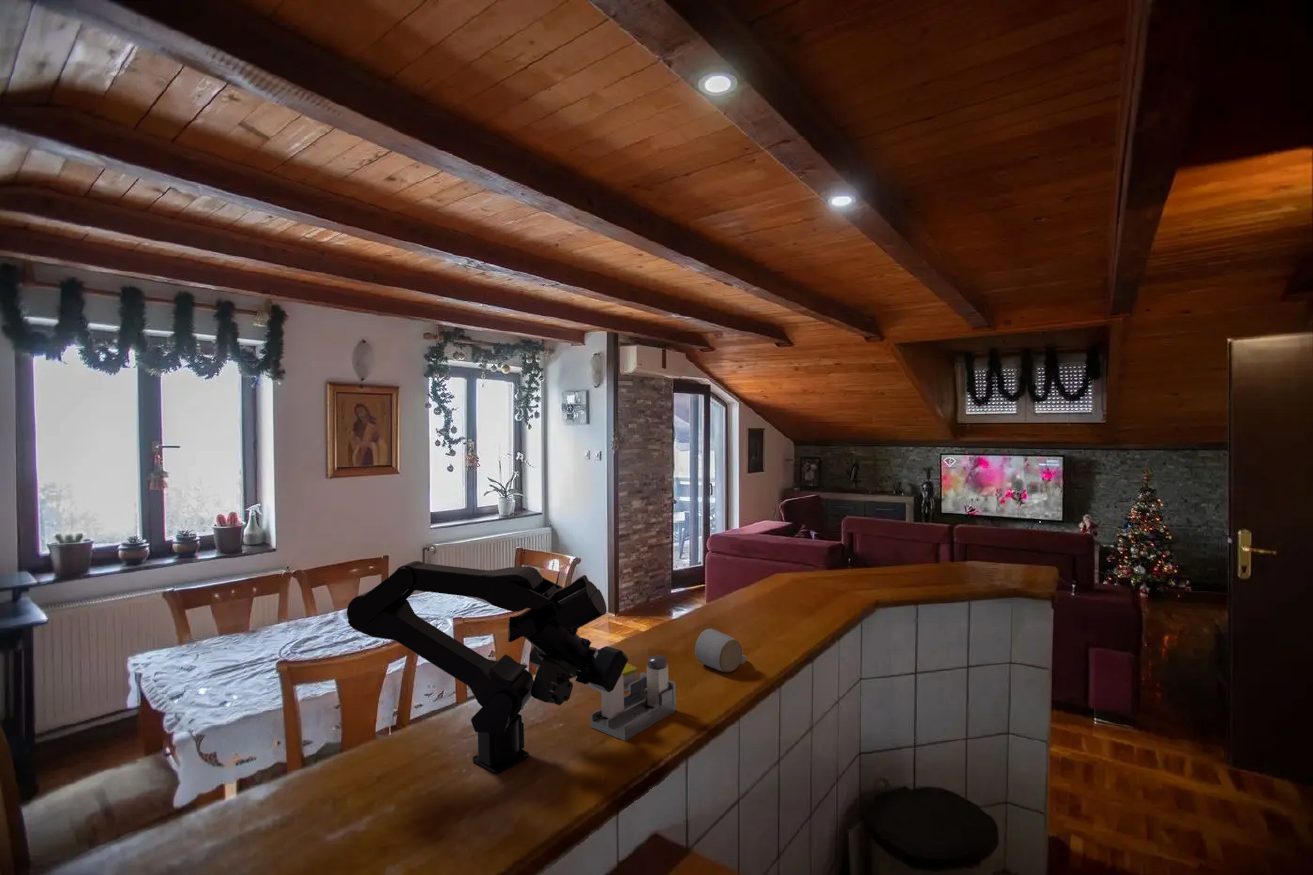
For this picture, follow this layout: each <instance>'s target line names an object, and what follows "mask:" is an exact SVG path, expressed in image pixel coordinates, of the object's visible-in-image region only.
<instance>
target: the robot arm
mask: <svg viewBox="0 0 1313 875" xmlns="http://www.w3.org/2000/svg"><path fill="white" fill-rule="evenodd" d="M415 591H419V592H427V593H433V594H434V593H435V594H441V595H443V594H445V595H451V596H460V597H468V598H477V599H480V600H484V601H485V602H487V603H489V604H490V605H491V606H494V607H497V608H499V609H503V610H506V611H510V612H512V613H513V612H521V611H523V610H525V609H527V610H525V611H524V612H521V613H520V614H519V615H516V616H510V617H509V619H508V627H507V629H508V630H507V633H508V634H507V642H509V643H512V642H514V641H516V640H518V639H520V638H522V637H523V638H524V639H525V640H526V641H528V642H529V643H530V644H531V645H532V646H533V648H532V649H531V651H530V652H529V654H528V655H529V663H530V664H531V665H533V666H534V667H535V668H537V669H536V673H535V676H533V675H532V674H531V672H529V670H528V669H526V668H527V666H528V665H526V664H522V663H520V662H517V661H516V660H515V659H514V658H513V657H511V656H510V655H508V654H506V653H505V654H503V655H502V657H500V658H499V659H498V660H494V659H489V658H486V657H485V656H483V655H481V654H480V653H479V652H476V651H475V650H473V649H472V648H470V647H469V646H467V645H465V644H464V643H462V642H461V641H459V640H457V639H456V638H454V637H453V636H451V635H449V634H447V633H446V632H444V631H442V630H441V629H439V628H437V627H436V626H434V625H433V624H431V623H429V621H426V620H425V619H423V618H422V617H420V616H418V615H417V614H416V613H415V611H414V609H413V607H412V605H411V604H410V602H409V601H408V598H410V597H411V596H412V595H413V594H414V593H415ZM607 612H608V611H607V603H606V601H605V598H604V595H603V594H602V592H601V590H600V589H599V588H598V587H597V586H596V585H595V584H594V583H593V582H592V581H590V580H589V578H588V576H587V575H586V574H583V575H582V576H579V577H577V578H576V579H575V581H573V582H571V583H569V584H568V585H567V584H566V585H565V586H564V587H563V586H562V585H559V584H558V583H555V582H554V581H552V580H549V579H547V578H546V577H543V576H542V574H541V573H540V572H539V570H538V569H537V568H535V567H533V566H527V565H525V566H510V567H504V568H497V569H490V570H489V569H488V570H487V569H479V568H469V567H462V566H452V565H451V566H450V565H444V564H443V565H441V564H434V563H428V562H427V563H425V562H422V561H420V560H413V561H411V562H408V563H406V564H403V565H401V566H400V567H397V569H396V570H395V571H394V572H393V573H392V574H390V575H389V577H387V578H386V579H384V580H383V581H382V582H380V583H379V584H378V585H376V586H375V587H374V588H372V589H371V590H369V591H367V592H365V593H362V594H360V595H357V596H355V597H354V598H353V599H351V600H350V601H349V603H348V605H347V608H346V616H347V623H348V625H349V626H350V627H351V629H353V630H354V631H356V632H359V633H361V634H364V635H367V636H369V637H370V638H371V637H372V638H375V639H381V640H382V639H383V640H391V641H394V642H397V643H398V644H399V645H402V646H403V647H405V648H406V649H408V650H410V651H411V652H412V653H415V654H416V655H418V656H419V657H420V658H422V659H424V660H425V661H427V662H429V663H430V664H432V665H433V666H435V667H437V668H439V669H440V670H441V671H443V672H445V673H446V674H448V675H450V676H451V677H453V678H454V679H456V680H458V681H459V682H461V683H463V684H464V685H466V686H467V687H468V688H469V689H470V691H471V693H472V694H473V696H474V698H475V699H476V703H478V705H479V706H480V707H481V708H479V710H478V711H477V712H476V713H474V715H473V716H472V717H471V719H470V721H471V725H472V727H473V730H474V732H475V733H477V752H478V753H477V754H476V755H474V756H472V762H473V763H476V764H477V765H479V766H482V767H483V768H485V769H486V770H488V771H489V772H490V771H491V772H492V773H494V774H498V773H501V772H503V771H504V770H506V769H508V768H510V767H512V766H513V765H516V764H518V763H520V762H521V761H523V760H525V759H527V758H528V757H529V756H530V752H529V751H527V750H524V749H525V723H524V722H523V716H522V714H519V713H520V712H521V711H522V710H523V709H524V707H525V705H526V704H527V703H528V702H529V700H530V699H531V698H534V699H536V700H538V701H541V702H544V703H546V704H554V705H557V706H559V707H560V706H561V705H562V704H564V702H568V701H569V700H570V699H571V695H572V692H573V691H572V690H573V688H574V683H573V682H572V681H570V679H574V678H573V677H576V676H577V678H576V679H575V682H577V683H579V684H583V685H586V684H589V683H590V684H591V685H592V686H594V687H596V688H598V689H601V690H603V691H606V692H610V691H612V690H613V689H614V687H615V685H616V683H617V681H618V679H619V677H620V675H621V673H622V671H623V669H624V667H625V665H626V663H628V661H629V658H628V655H627V654H626V653H625V652H624V651H623V650H621V649H617V648H614V647H611V646H608V645H606V646H603V647H601V648H600V649H599V648H597V647H593V646H591V645H592V641H590V639H588V638H583V637H580V636H579V635H578V634H577V632H578V631H579V629H580V628H582V627H583V626H585V625H587V624H589V623H591V622H593V621H595V620H597V619H599V618H601V617H602V616H604V615H606V614H607Z"/></svg>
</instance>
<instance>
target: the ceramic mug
mask: <svg viewBox="0 0 1313 875" xmlns="http://www.w3.org/2000/svg"><path fill="white" fill-rule="evenodd" d="M694 652H695V657H696V659H697V661H698V662H699V663H701V664H702V665H705V666H708V667H709V668H712V669H715V670H718V671H719V672H723V673H731V672H733V671H735V670H737V669H738V667H739V666H740V664H745V663H746V662H747V661H746V660H747V655H744V654H743V647H742V645H741V643H740V642H739V641H738V640H736V639H735V638H733V637H732V636H729V635H728V634H726V633H722V632H721V631H718V630H716V629H714V628H706V629H705V630H703V631H702V632H701V633H700V634H699V635H698V638H697V639H696V642H695V647H694Z"/></svg>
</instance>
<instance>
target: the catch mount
mask: <svg viewBox="0 0 1313 875" xmlns="http://www.w3.org/2000/svg"><path fill="white" fill-rule="evenodd" d="M667 662H668V661H667V657H666V656H664V655H662V654H654V655H650V656H649V657H648V658H647V665H646V672H644V671H643V672H640V673H639V678H638V680H637V681H635V682H633V683H631V684H629V690H628V694H626V695H624V710H623V711H622V712H620V713H618V714H616V715H614V716H612V717H611V718H607V717H604V716H602V707H600V708H599V709H597V710H595V711H593V712H592V713H590V728H591V729H594V730H596V731H599V732H601V733H604V734H606V735H609V736H611V737H614V738H617V739H618V740H621V741H623V742H626V741H628V740H629V739H632V738H633V737H635V736H636V735H638V734H640V733H641V732H643V731H644V730H646V729H648V728H649V727H650V726H652V725H654V724H656V723H657V722H659V721H661V720H663V719H664V718H666V717H668V716H670V715H671V714H673V713H675V712H676V711H677V686H676V685H677V684H676V683H677V682H676V681H672V680H669V665H668V663H667Z"/></svg>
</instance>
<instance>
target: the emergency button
mask: <svg viewBox="0 0 1313 875" xmlns="http://www.w3.org/2000/svg"><path fill="white" fill-rule="evenodd" d="M622 674H623V685H624V693H625V692H629V684H631V683H633V682H635V681H637V680H639V676H638V668H637V667H636V666H634V665H632V664H630V663H628V662H627V663H626V665H625V667H624V669H623V671H622ZM576 678H577V676H576V677H573V678H572V679H575V680H576ZM585 685H586V686H587V687H589V688H591V689H593V690H595V691H597V692H599V693H600V694H601V689H598V688H596V687H594V686H592V685H591V684H590V683H589V684H585Z"/></svg>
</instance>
